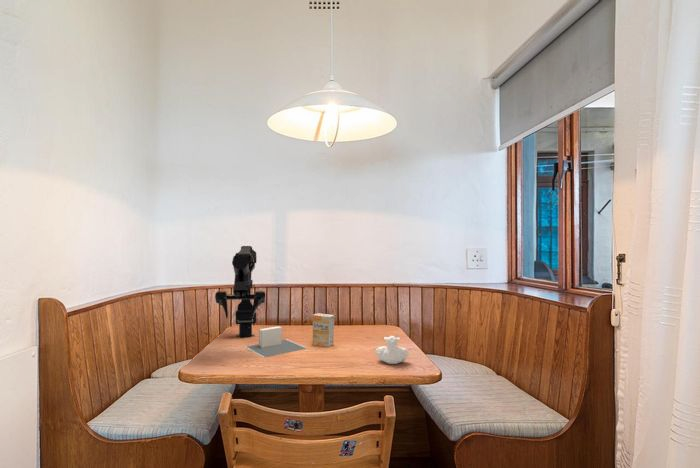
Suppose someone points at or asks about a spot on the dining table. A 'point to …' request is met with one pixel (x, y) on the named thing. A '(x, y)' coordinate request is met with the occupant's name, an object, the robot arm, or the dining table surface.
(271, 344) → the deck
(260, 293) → the robot arm
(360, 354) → the dining table surface
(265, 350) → the mat
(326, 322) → the supplement box
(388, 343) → the white animal figurine
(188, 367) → the dining table surface
